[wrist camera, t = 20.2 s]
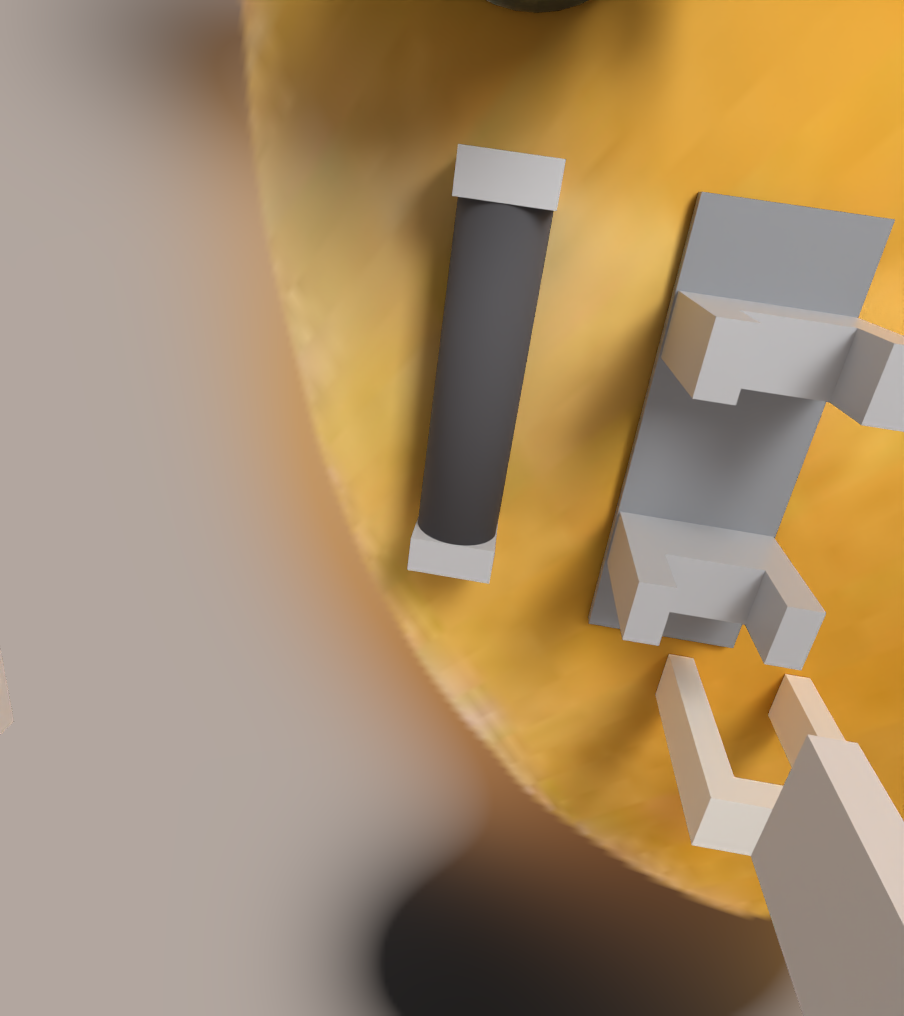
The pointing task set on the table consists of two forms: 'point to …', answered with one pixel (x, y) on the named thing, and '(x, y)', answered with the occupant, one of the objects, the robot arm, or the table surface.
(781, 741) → the u-shaped clip
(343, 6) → the table surface
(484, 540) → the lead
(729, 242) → the cradle
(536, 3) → the mug
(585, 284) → the table surface
